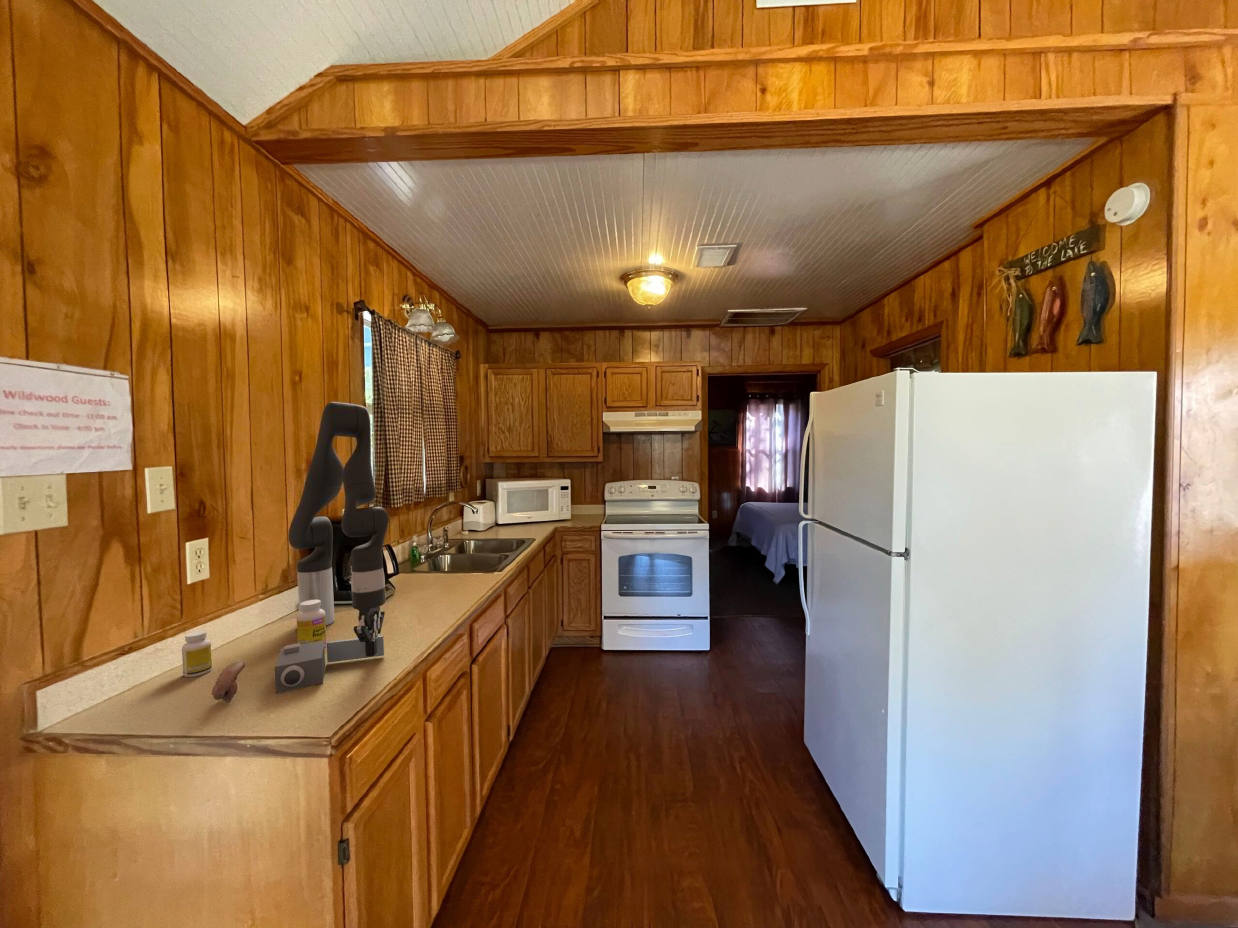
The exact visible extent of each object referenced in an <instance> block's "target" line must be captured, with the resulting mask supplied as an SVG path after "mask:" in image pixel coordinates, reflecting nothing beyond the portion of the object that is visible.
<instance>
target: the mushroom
mask: <svg viewBox="0 0 1238 928" xmlns="http://www.w3.org/2000/svg"><path fill="white" fill-rule="evenodd" d="M245 667H246V664H245V662H243V661H241V660H240V661H234V662H232V663H230V664H228V665H227V666H226V667H225V668H224V669H223V670H222V671H221V672H220V674H219V675H218V677H217V679H216V681H215V684H214V685H213V687H212V692H211V695H212V697H213V699H215V701H216V700H217V701H220V700H222V701H224V702H225V703H227V704H228V703H230V702H231V701H232V699H233V698H234V696H235V695H236V693H237V690H238V688H239V687H238V683H237V682H236V680H237V677H238V676H239V675H240V673H241V672H242V671H243V669H245Z"/></svg>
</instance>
